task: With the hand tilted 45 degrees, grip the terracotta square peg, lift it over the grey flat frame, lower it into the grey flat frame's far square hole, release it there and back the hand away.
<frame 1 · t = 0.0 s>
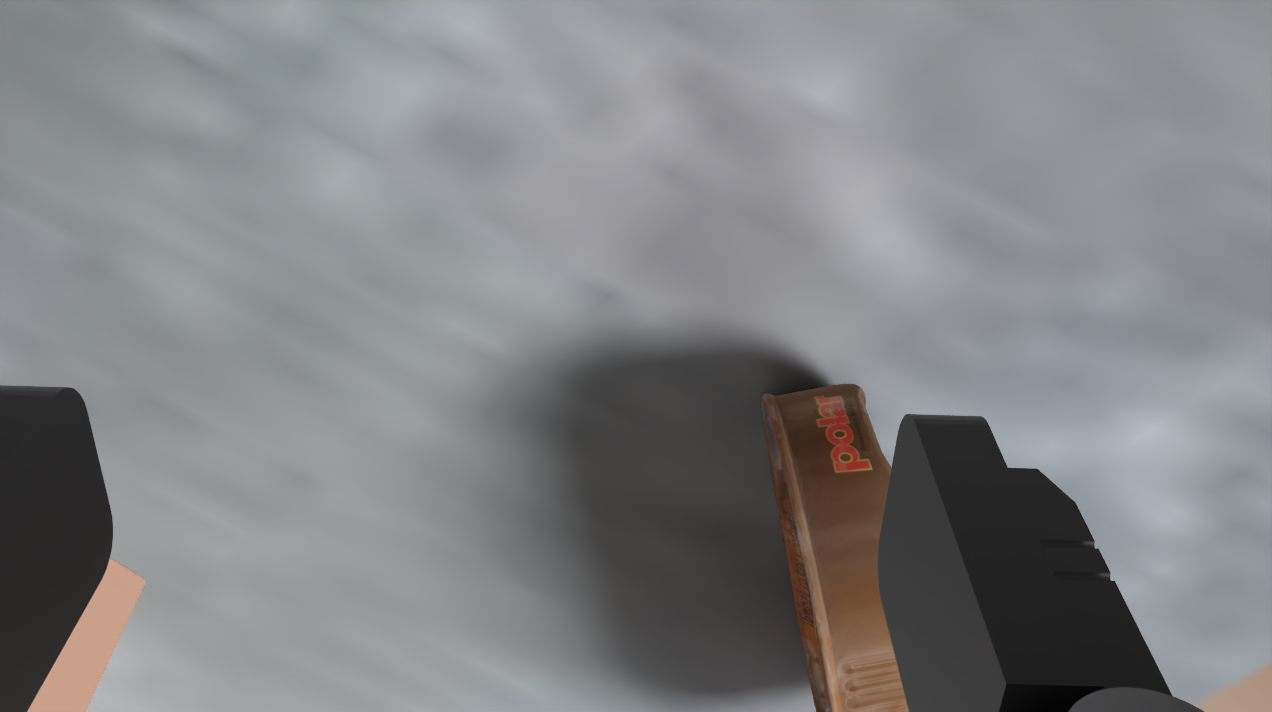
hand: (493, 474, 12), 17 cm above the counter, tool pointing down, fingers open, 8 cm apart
tin: (835, 526, 36), on the counter
peg: (53, 577, 37), on the counter
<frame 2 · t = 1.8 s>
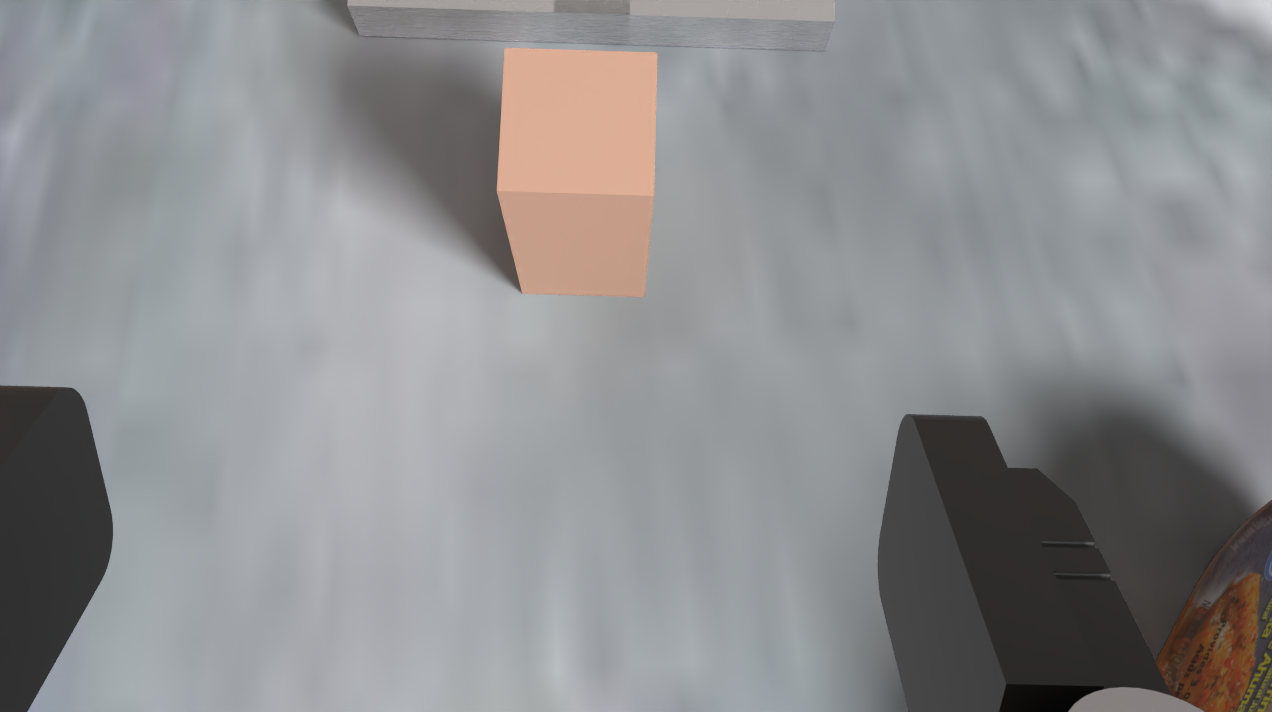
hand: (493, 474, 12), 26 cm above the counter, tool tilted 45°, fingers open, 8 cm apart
peg: (585, 237, 40), on the counter
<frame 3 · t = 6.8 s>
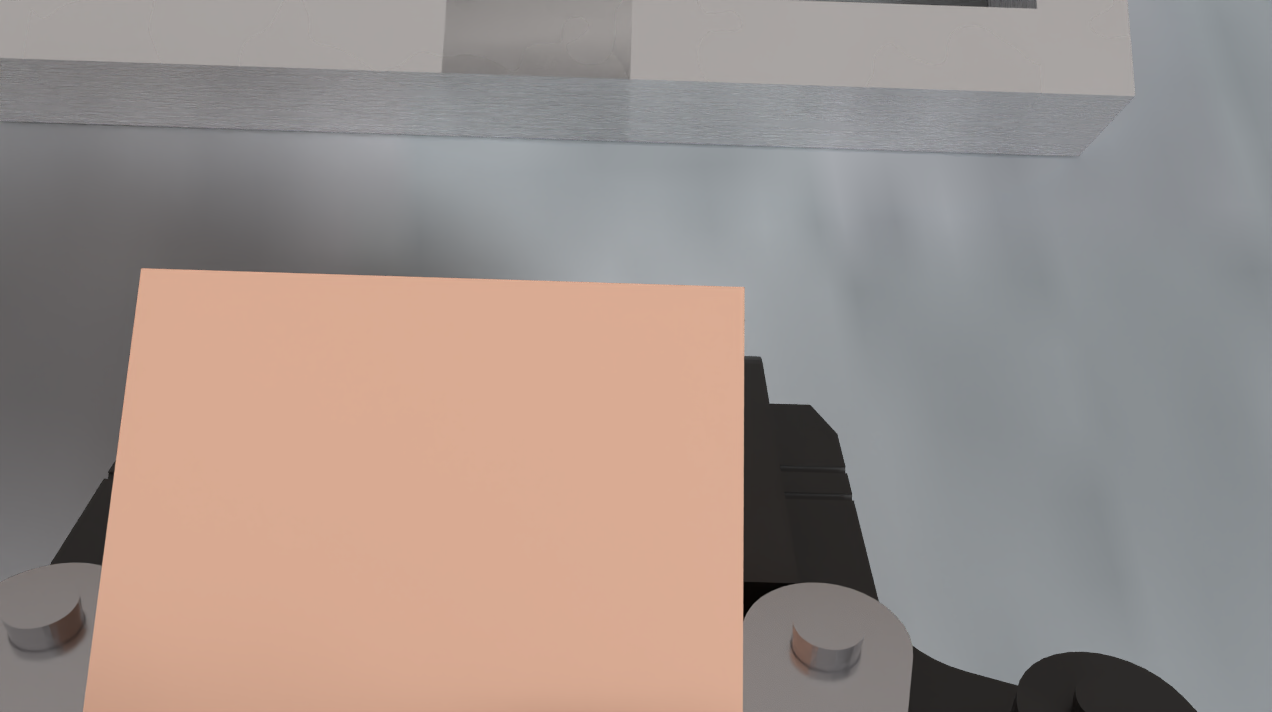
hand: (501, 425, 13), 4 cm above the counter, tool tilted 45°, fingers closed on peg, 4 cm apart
peg: (522, 624, 16), on the counter, touching gripper
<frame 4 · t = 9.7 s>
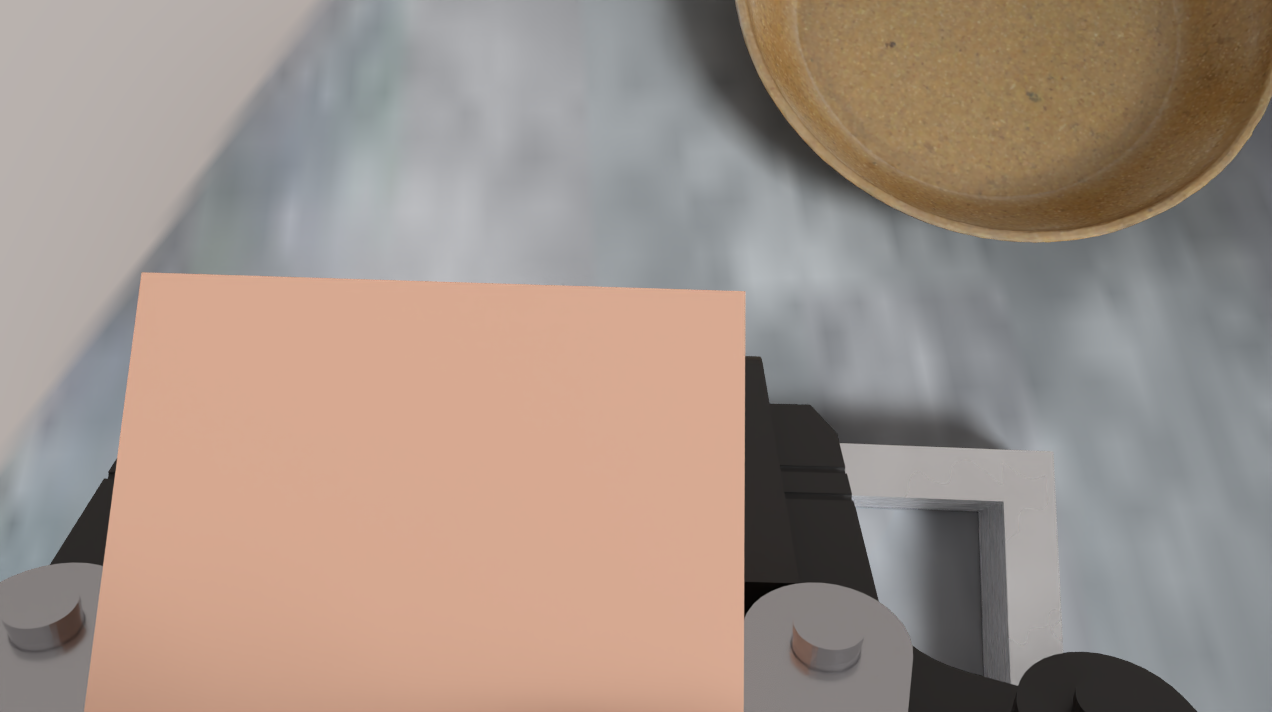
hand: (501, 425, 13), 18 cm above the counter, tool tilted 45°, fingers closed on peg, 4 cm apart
grey flat frame: (711, 611, 30), on the counter
plant saucer: (980, 29, 35), on the counter
peg: (522, 626, 16), point 14 cm above the counter, touching gripper
when the fingers open (5 cm above the counter, at t = 12.6 s): peg stays where it is, resting in grey flat frame.
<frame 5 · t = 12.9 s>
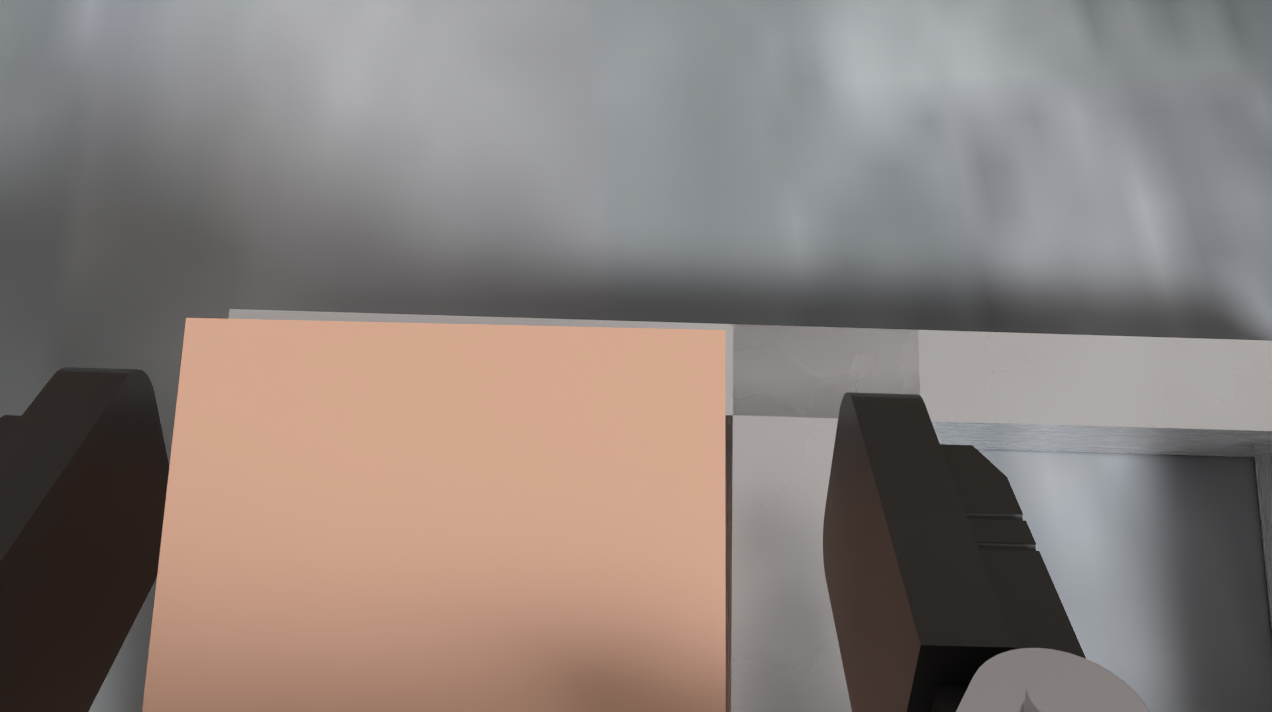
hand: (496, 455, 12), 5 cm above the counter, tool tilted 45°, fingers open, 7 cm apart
grey flat frame: (804, 634, 17), on the counter
peg: (525, 628, 17), resting in grey flat frame
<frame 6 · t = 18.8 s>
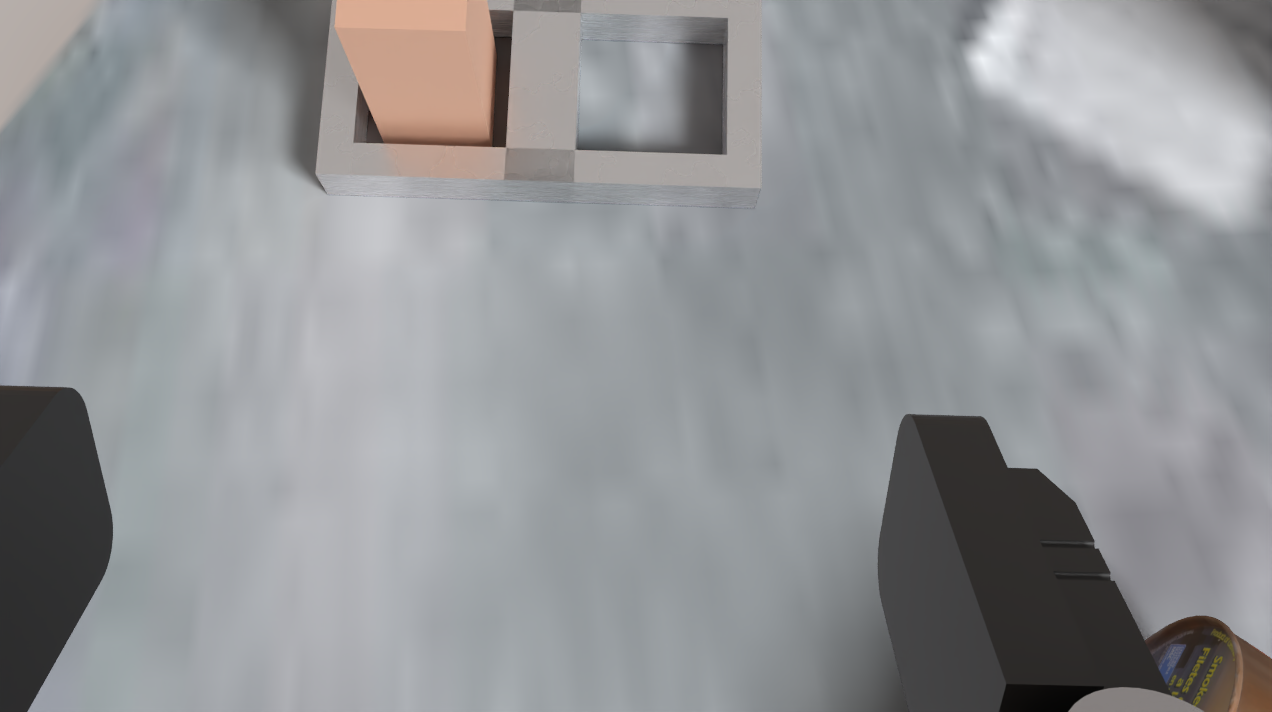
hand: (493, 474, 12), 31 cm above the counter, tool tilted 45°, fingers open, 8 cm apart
grey flat frame: (546, 103, 46), on the counter
peg: (442, 101, 46), resting in grey flat frame
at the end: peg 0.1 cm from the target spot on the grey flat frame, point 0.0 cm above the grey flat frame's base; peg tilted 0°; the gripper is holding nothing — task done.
